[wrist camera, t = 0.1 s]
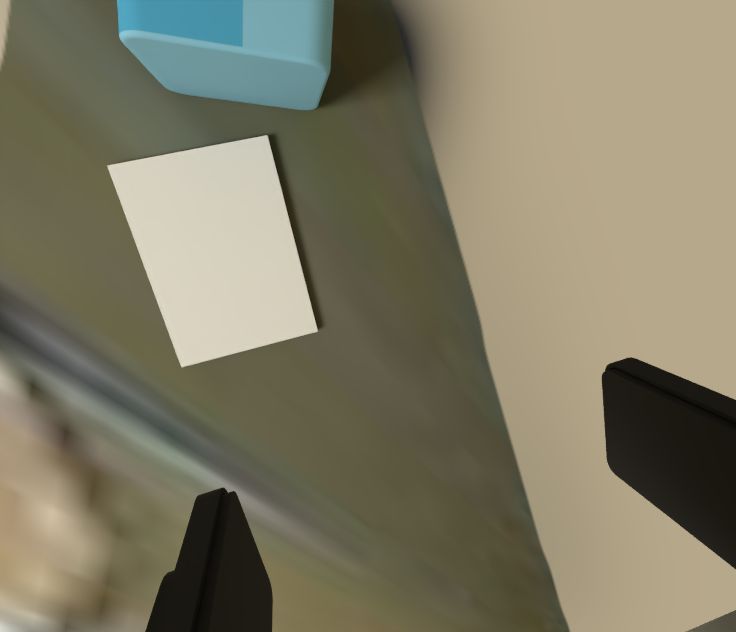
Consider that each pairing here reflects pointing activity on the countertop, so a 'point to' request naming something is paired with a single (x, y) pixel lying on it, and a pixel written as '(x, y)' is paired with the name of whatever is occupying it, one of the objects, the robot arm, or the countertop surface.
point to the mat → (217, 247)
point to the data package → (234, 47)
